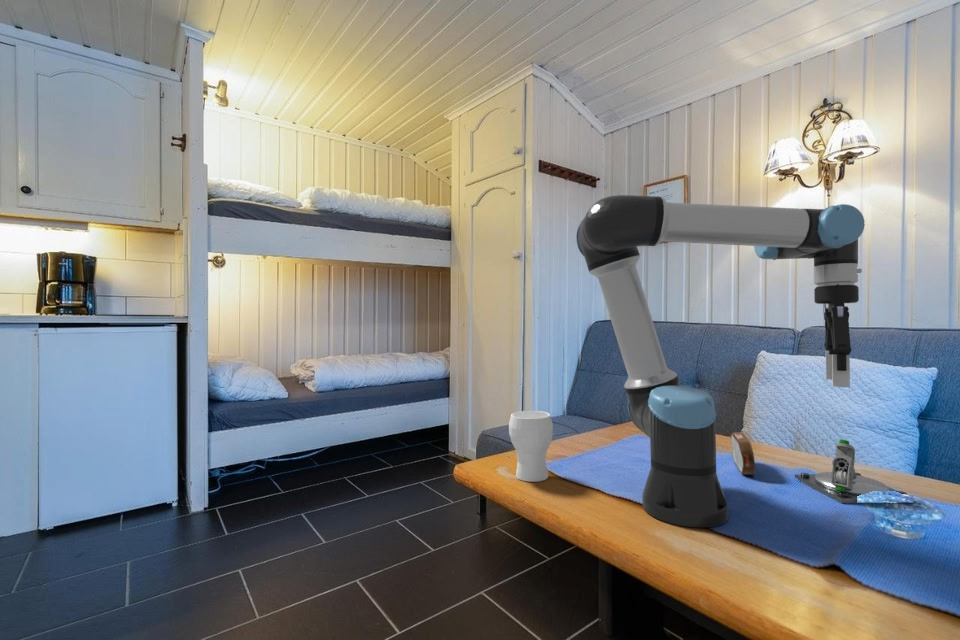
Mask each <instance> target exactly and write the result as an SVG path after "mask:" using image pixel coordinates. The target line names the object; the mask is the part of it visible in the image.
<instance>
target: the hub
mask: <svg viewBox="0 0 960 640" xmlns="http://www.w3.org/2000/svg"><path fill="white" fill-rule="evenodd" d="M855 474H856V475H857V478H856V479H853V486H852V489H846V488H845V492H841V491H838V490H835V487H836V486H833V485H832V484H831V480H832V471H827V472H824V471H823V472H819V473H817V474H816V473H815V474H813V473H812V474H809V473H807V472H801V473H800V474H794V479H795V478H797V479H798V480H800V481H802V482H803V483H802V482H801V483H802V484H804V483H805V484H804V485H806V486H807V485H808V486H807V487H809V486H810V487H809V488H811V487H812V489H813V488H814V489H813V490H815V489H816V490H815V491H817V492H819V493H820V494H823V495H825V494H826V495H827V497H828V496H829V498H830V497H831V499H832V498H833V499H832V500H834V499H835V501H836V500H837V501H836V502H837V503H840V504H842V503H852V504H858V503H857V496H859V495H861V494H866V493H869V492H872V491H888V490H889V491H896V492H899V493H901V494H906V495H908V494H907V492H906V491H903V490H897V489H894V488H891V487H890V486H888V485H887V484H885V483H883V482H882V481H879V480H877V479H874V478H870V477H868V476H863V475H862V473H860V472H857V471H855ZM798 480H797V481H798ZM834 480H835V474H834ZM800 481H799V482H800ZM826 495H825V496H826Z"/></svg>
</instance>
